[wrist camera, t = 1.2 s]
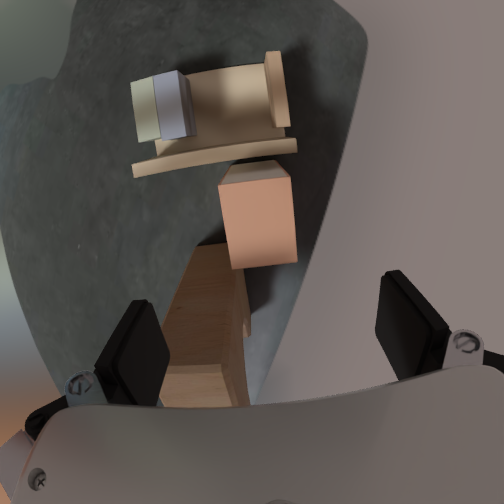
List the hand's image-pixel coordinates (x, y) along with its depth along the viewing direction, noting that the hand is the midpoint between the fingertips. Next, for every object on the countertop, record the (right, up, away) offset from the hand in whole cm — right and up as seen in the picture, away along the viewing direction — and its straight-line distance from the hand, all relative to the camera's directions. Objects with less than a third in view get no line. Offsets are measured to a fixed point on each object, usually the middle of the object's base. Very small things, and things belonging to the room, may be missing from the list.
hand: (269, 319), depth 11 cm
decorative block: (-4, -1, +25) cm, 26 cm away
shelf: (-5, +18, +17) cm, 25 cm away
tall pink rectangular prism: (0, +9, +21) cm, 23 cm away
